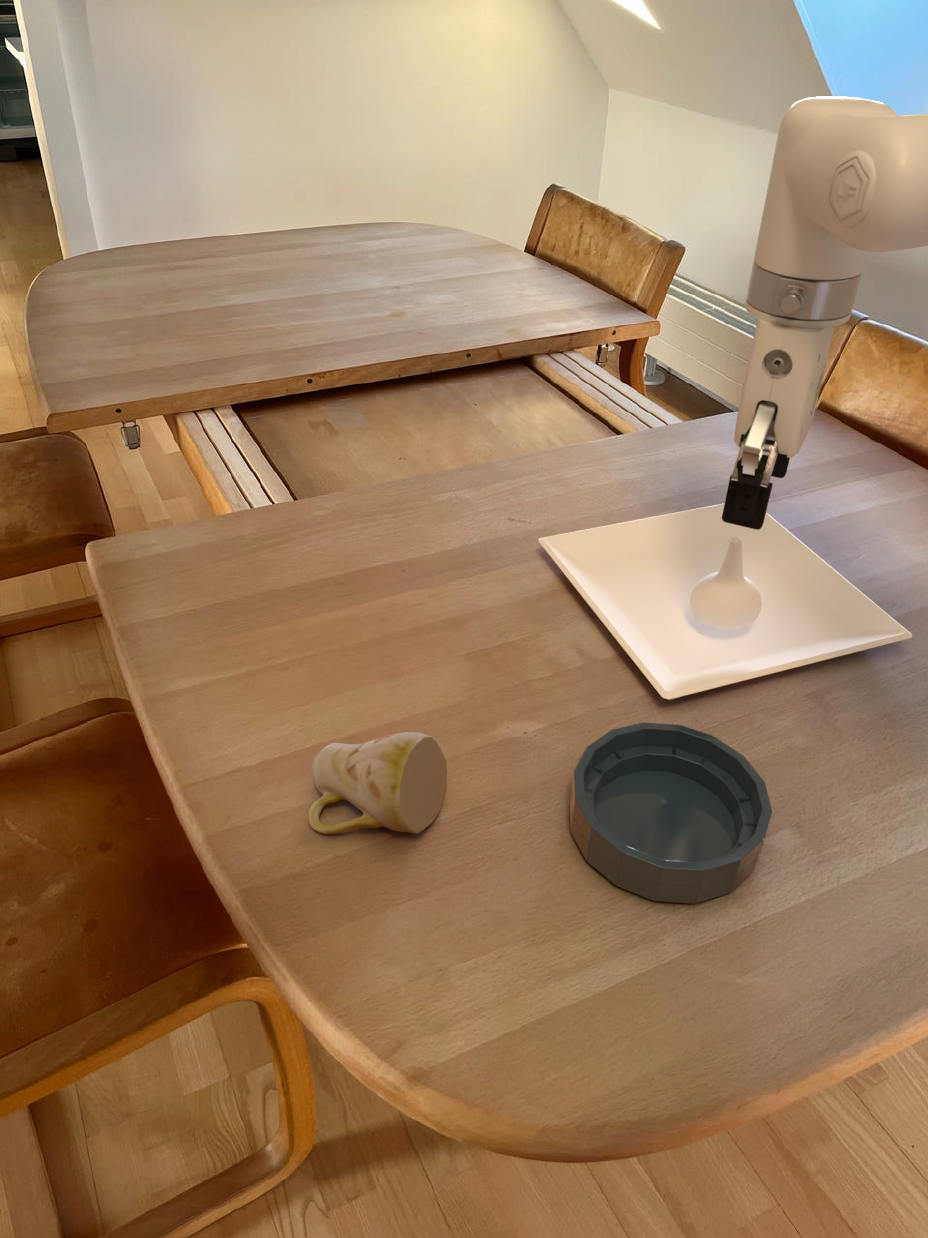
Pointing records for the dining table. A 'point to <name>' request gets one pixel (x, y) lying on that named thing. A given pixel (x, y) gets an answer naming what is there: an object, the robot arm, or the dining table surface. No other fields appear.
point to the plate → (670, 569)
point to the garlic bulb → (727, 594)
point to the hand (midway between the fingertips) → (754, 497)
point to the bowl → (668, 812)
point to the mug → (382, 782)
